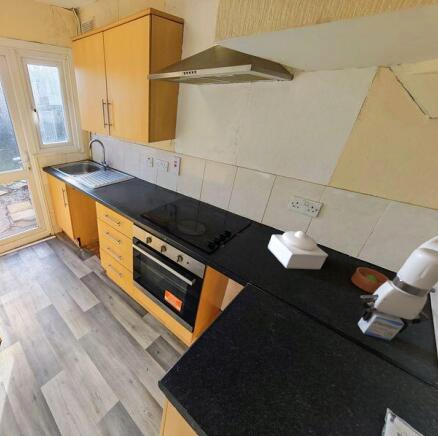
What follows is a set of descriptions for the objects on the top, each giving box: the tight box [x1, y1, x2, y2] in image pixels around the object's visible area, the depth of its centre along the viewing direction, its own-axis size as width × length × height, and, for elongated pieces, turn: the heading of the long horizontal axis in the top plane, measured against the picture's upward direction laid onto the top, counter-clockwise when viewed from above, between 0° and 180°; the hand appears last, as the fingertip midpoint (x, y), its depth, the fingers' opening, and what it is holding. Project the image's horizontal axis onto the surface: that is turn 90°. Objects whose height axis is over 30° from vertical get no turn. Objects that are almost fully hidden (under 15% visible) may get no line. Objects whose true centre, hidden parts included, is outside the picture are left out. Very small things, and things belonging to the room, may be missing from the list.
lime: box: [364, 275, 378, 283], centre depth 100 cm, size 5×5×5 cm
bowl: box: [350, 266, 390, 294], centre depth 100 cm, size 11×11×6 cm
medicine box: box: [357, 310, 404, 342], centre depth 78 cm, size 8×4×9 cm, turn 71°
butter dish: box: [267, 230, 329, 270], centre depth 114 cm, size 18×18×16 cm
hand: (380, 323), depth 77 cm, fingers closed on medicine box, 8 cm apart
